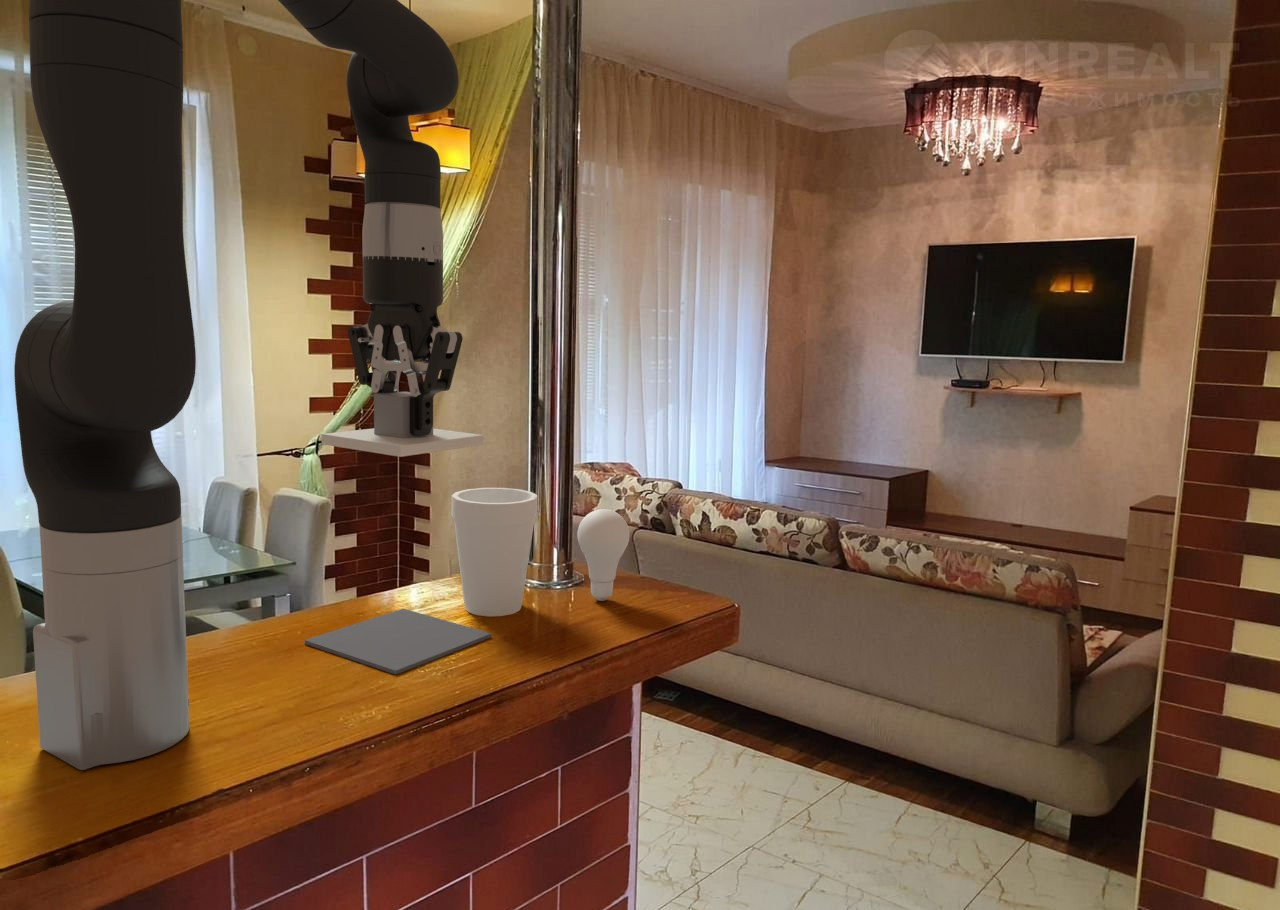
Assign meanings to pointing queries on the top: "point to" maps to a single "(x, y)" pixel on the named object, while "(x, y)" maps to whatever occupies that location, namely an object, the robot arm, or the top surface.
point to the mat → (398, 640)
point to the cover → (398, 432)
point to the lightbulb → (603, 548)
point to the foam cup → (493, 547)
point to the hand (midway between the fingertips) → (404, 431)
